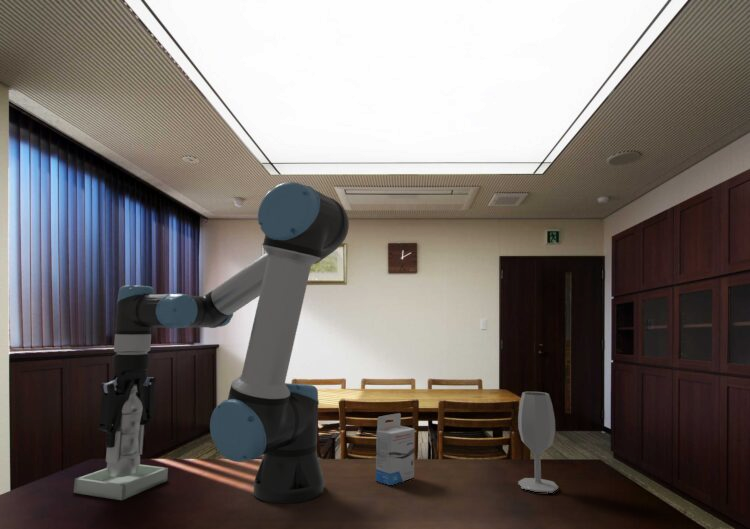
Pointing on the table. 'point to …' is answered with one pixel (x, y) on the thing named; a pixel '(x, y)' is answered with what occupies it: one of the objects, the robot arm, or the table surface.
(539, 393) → the wineglass
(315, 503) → the table surface
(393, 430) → the ink box
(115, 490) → the tray
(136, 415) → the plastic bottle
